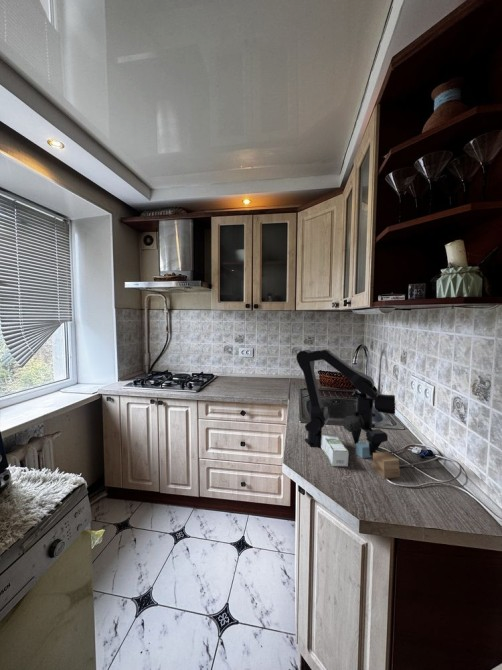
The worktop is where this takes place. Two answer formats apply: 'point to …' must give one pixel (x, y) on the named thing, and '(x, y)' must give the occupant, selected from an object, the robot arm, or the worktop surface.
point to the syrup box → (334, 450)
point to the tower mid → (385, 460)
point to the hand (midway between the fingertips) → (363, 449)
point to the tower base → (386, 472)
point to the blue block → (362, 450)
